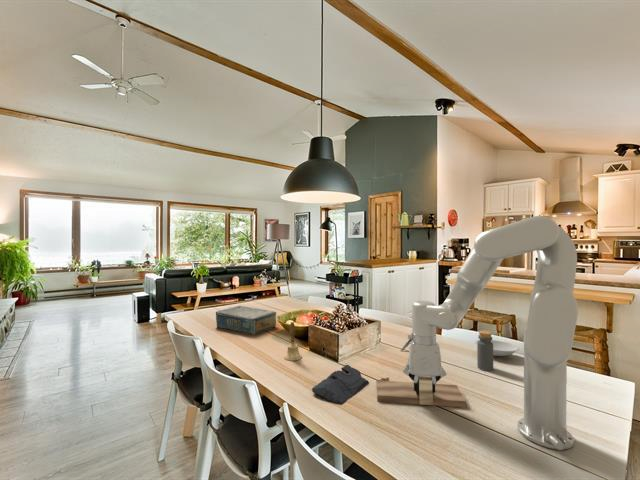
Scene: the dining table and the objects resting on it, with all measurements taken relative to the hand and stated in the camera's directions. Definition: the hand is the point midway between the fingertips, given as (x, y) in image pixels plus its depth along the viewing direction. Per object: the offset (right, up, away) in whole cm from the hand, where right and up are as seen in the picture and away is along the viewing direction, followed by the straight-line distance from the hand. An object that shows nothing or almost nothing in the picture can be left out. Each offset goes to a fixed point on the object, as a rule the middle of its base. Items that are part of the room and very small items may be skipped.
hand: (424, 393), depth 104 cm
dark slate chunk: (-28, -4, +11) cm, 30 cm away
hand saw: (-8, -3, +23) cm, 24 cm away
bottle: (+34, -2, +26) cm, 42 cm away
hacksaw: (+12, -3, +51) cm, 53 cm away
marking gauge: (0, -2, +2) cm, 3 cm away
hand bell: (-47, -3, +39) cm, 61 cm away
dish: (+46, -2, +39) cm, 60 cm away
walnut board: (-1, -3, +4) cm, 5 cm away
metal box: (-80, -3, +88) cm, 119 cm away
